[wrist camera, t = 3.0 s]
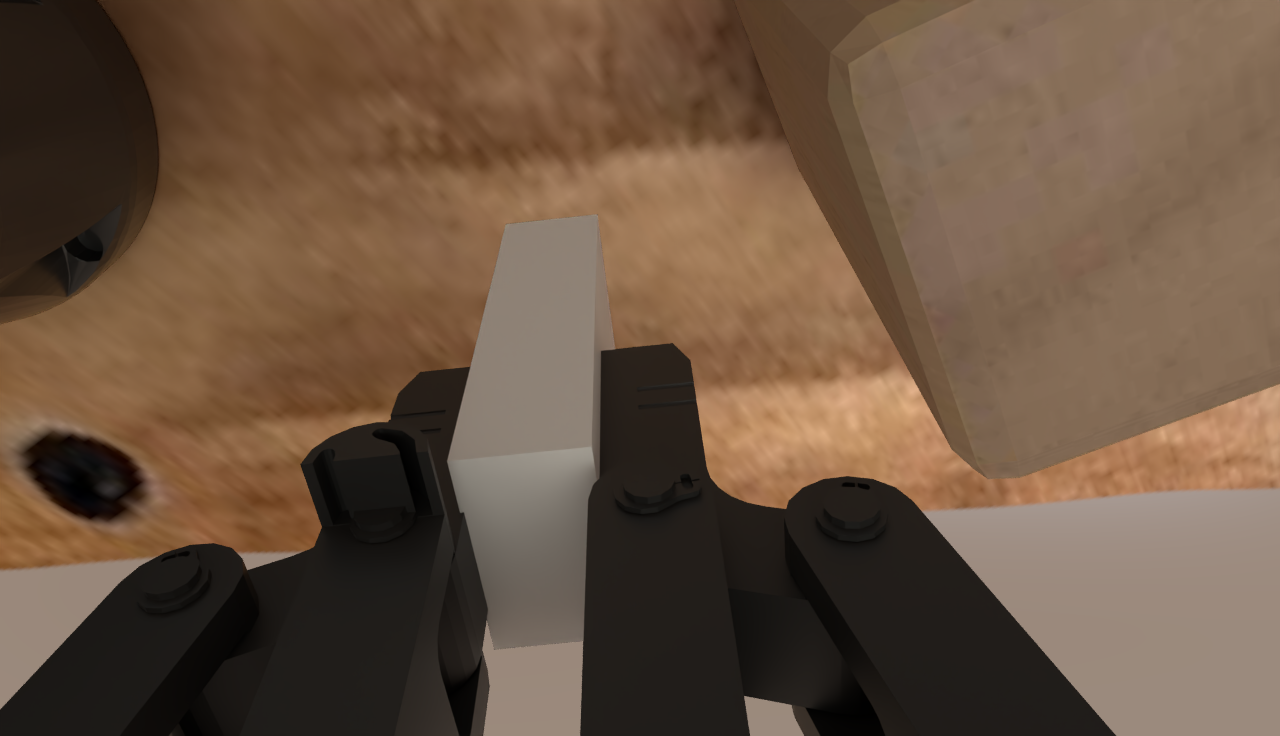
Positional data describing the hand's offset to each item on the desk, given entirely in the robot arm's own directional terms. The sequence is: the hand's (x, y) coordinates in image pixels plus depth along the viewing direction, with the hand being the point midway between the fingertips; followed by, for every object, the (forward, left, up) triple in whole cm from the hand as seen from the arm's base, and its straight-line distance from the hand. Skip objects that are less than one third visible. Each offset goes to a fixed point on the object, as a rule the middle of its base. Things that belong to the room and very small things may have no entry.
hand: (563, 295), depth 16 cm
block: (+11, 0, -21) cm, 23 cm away
